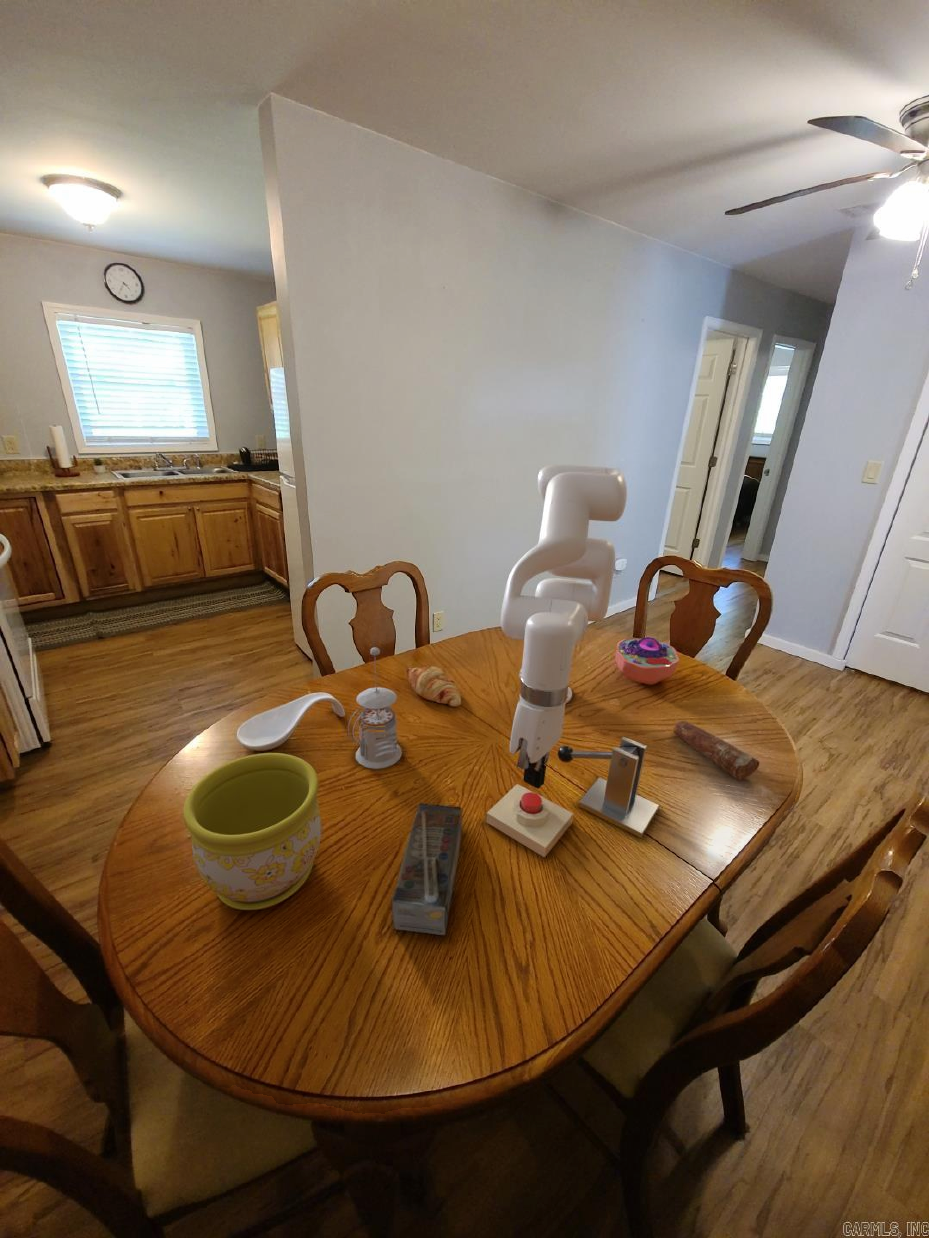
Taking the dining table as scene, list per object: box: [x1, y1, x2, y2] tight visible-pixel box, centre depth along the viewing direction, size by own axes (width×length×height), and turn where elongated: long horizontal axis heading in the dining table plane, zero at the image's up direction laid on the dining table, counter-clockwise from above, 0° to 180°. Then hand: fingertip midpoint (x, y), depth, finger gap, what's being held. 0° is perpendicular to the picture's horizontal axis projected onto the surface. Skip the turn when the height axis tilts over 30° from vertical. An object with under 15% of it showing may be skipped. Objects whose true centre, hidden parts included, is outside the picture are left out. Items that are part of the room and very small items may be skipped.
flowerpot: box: [182, 752, 323, 911], centre depth 75 cm, size 18×18×16 cm
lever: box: [557, 745, 640, 764], centre depth 94 cm, size 16×3×3 cm, turn 51°
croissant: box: [406, 665, 462, 707], centre depth 129 cm, size 21×10×8 cm, turn 44°
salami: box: [673, 720, 760, 781], centre depth 109 cm, size 6×19×6 cm, turn 23°
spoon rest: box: [236, 692, 346, 752], centre depth 111 cm, size 24×12×7 cm, turn 134°
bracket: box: [578, 736, 660, 839], centre depth 91 cm, size 12×9×14 cm
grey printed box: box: [391, 802, 463, 936], centre depth 77 cm, size 8×19×7 cm, turn 173°
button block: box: [485, 783, 574, 858], centre depth 89 cm, size 12×10×4 cm
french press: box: [347, 646, 403, 770], centre depth 101 cm, size 10×12×25 cm
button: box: [521, 791, 542, 814], centre depth 88 cm, size 4×4×2 cm
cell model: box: [614, 636, 680, 686], centre depth 140 cm, size 17×20×11 cm
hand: (533, 782), depth 86 cm, fingers closed
